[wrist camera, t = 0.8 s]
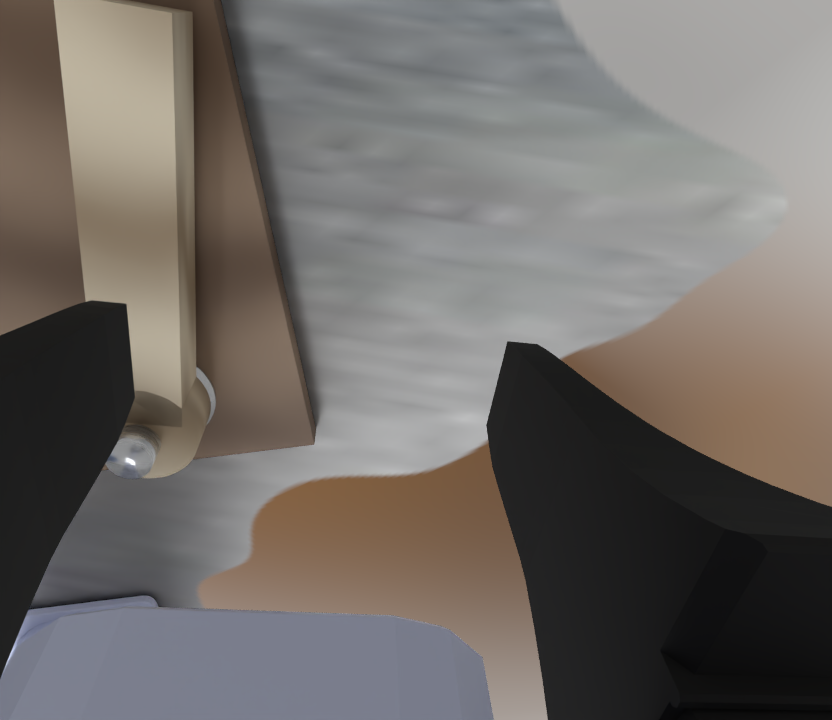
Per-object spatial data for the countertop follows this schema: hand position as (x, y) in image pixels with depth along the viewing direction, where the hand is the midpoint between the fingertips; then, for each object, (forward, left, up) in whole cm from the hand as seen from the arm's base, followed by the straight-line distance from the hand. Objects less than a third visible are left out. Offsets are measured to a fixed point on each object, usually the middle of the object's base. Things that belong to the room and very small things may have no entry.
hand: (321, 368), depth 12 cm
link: (0, +6, -9) cm, 10 cm away
